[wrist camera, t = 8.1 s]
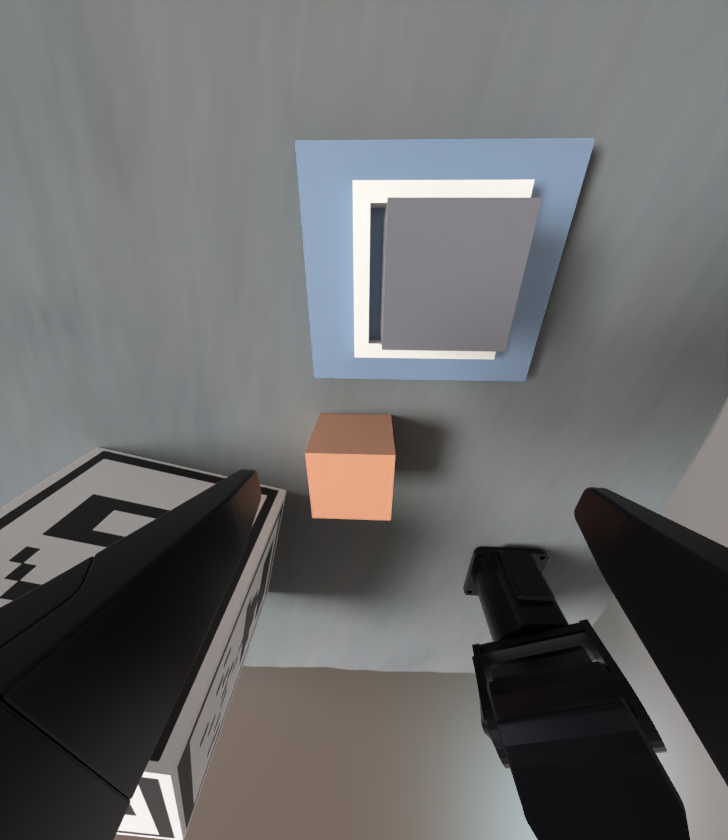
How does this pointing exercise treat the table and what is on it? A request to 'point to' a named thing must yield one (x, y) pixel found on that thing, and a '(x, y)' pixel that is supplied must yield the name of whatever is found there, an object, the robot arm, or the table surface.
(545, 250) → the board
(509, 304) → the charcoal cube
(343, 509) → the terracotta cube
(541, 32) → the table surface
